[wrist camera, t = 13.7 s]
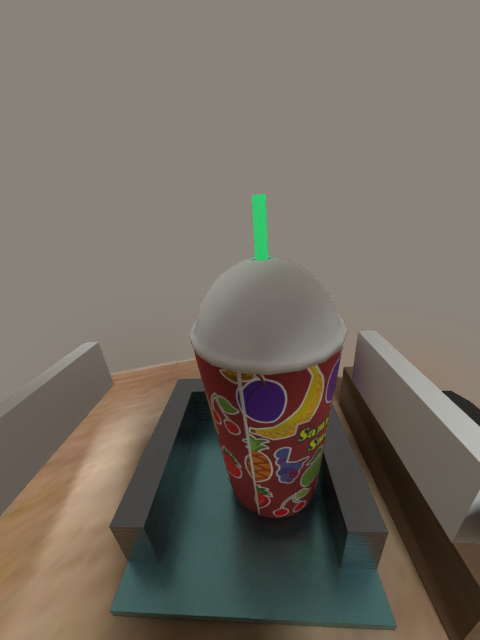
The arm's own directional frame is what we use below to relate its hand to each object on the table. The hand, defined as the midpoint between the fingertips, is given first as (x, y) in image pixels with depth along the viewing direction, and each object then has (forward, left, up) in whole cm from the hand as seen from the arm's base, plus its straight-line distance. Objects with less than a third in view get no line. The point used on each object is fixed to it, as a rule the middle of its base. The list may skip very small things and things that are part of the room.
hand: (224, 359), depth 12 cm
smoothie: (-2, -2, -13) cm, 13 cm away
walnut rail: (-11, -2, -13) cm, 18 cm away
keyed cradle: (0, -2, -13) cm, 13 cm away
